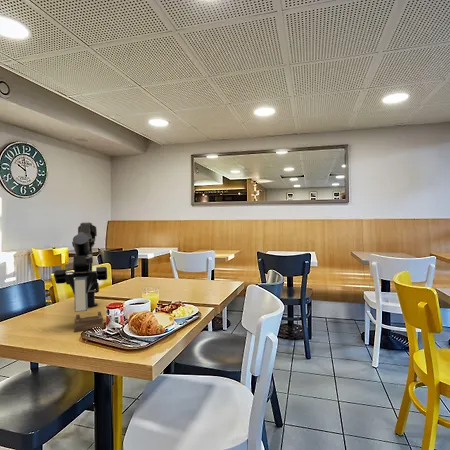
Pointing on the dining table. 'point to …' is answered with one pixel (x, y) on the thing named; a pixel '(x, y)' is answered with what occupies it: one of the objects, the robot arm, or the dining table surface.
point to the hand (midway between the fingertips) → (80, 293)
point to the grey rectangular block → (80, 294)
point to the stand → (88, 322)
